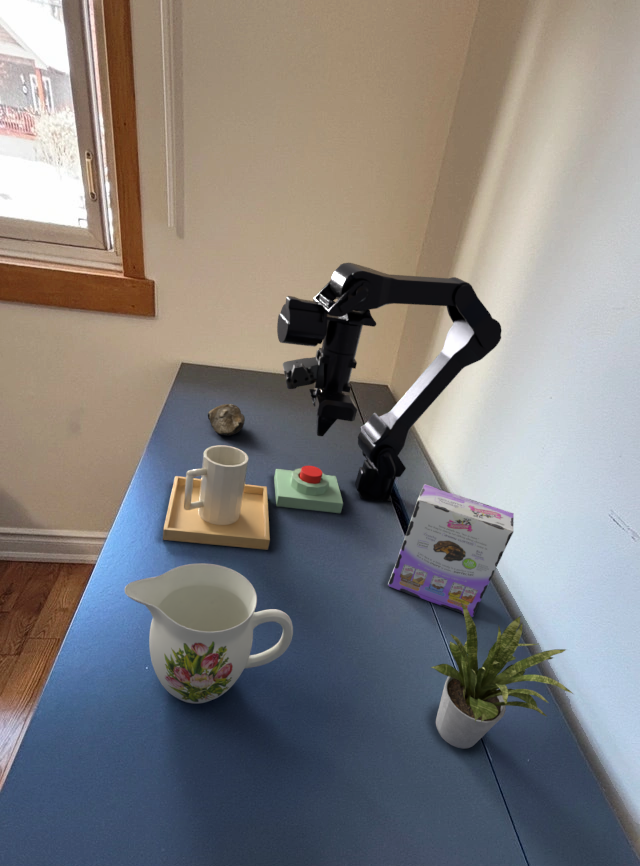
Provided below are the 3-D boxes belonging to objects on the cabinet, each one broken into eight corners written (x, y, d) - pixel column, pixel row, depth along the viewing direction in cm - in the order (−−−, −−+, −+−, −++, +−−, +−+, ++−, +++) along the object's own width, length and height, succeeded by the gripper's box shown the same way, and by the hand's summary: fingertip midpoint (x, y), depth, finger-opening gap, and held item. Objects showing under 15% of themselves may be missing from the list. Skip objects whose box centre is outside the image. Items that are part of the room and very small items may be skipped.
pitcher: (287, 717, 60) (311, 631, 53) (118, 723, 56) (117, 629, 48) (276, 643, 69) (295, 561, 62) (128, 643, 64) (130, 553, 57)
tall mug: (226, 499, 94) (233, 442, 88) (247, 520, 90) (256, 462, 84) (173, 510, 88) (177, 451, 82) (193, 533, 84) (198, 473, 78)
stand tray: (265, 495, 98) (266, 486, 97) (267, 549, 85) (269, 539, 84) (174, 485, 95) (175, 475, 94) (162, 539, 82) (163, 529, 81)
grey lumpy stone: (247, 432, 113) (248, 420, 122) (234, 403, 110) (236, 393, 119) (214, 445, 114) (218, 432, 123) (200, 416, 111) (205, 405, 120)
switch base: (333, 485, 107) (338, 468, 105) (340, 513, 99) (345, 495, 97) (274, 478, 104) (277, 460, 102) (276, 506, 96) (279, 487, 94)
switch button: (319, 475, 102) (321, 467, 101) (321, 485, 98) (323, 477, 97) (298, 472, 101) (300, 464, 100) (300, 483, 98) (302, 474, 97)
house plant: (529, 815, 57) (605, 720, 48) (402, 778, 57) (453, 677, 48) (511, 706, 69) (569, 614, 60) (406, 676, 69) (448, 581, 60)
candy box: (475, 596, 86) (516, 512, 77) (472, 619, 81) (515, 532, 72) (394, 566, 88) (424, 481, 80) (386, 586, 84) (417, 498, 75)
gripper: (286, 324, 93) (272, 408, 102) (295, 359, 78) (278, 453, 87) (347, 335, 96) (329, 416, 104) (368, 371, 81) (344, 462, 89)
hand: (319, 435), depth 96 cm, fingers closed
